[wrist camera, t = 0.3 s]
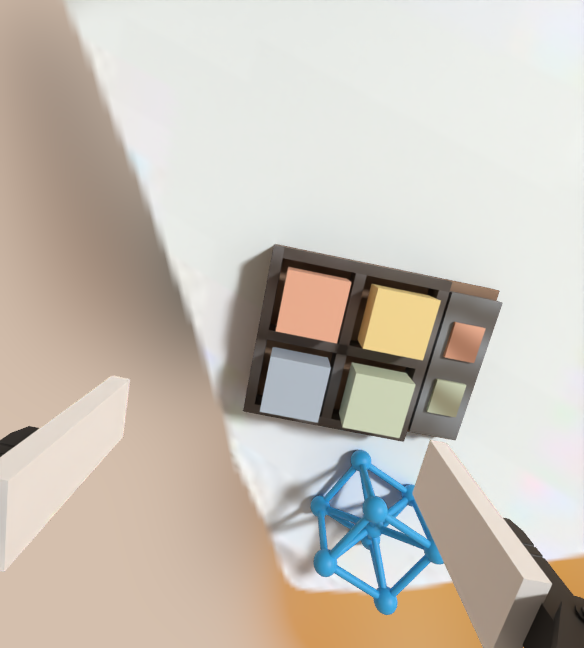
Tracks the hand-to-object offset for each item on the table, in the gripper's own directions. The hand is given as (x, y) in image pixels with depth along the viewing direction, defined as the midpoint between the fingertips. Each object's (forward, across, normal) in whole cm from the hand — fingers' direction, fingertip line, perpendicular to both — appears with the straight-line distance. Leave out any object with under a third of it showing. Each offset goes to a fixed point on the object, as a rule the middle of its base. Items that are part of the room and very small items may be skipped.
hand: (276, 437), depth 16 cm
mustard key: (+20, +10, +3) cm, 23 cm away
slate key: (+20, +2, -5) cm, 21 cm away
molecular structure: (+24, +14, -19) cm, 34 cm away
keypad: (+24, +9, -1) cm, 26 cm away
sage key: (+20, +10, -5) cm, 23 cm away
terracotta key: (+20, +2, +3) cm, 21 cm away
